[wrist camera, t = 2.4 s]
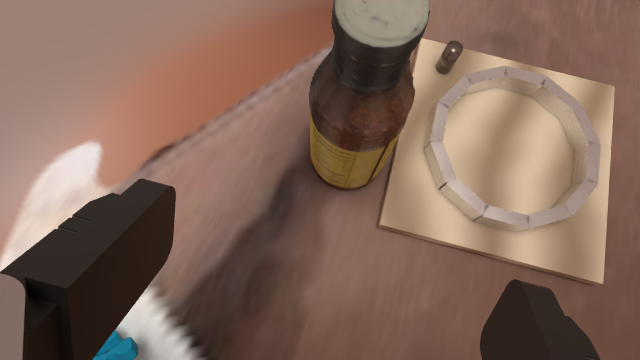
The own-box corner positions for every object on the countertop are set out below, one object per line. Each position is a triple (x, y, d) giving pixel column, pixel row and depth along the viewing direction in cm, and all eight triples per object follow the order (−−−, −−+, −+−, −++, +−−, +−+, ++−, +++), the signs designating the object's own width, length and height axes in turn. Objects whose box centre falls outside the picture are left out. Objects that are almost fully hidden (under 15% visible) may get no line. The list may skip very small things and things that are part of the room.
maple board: (605, 93, 39) (614, 86, 38) (592, 284, 34) (603, 283, 33) (417, 45, 40) (421, 37, 39) (376, 227, 35) (379, 224, 34)
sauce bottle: (357, 114, 38) (415, -84, 19) (395, 172, 36) (500, 22, 17) (293, 147, 36) (285, -28, 17) (329, 208, 35) (364, 90, 16)
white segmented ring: (589, 97, 38) (613, 80, 35) (577, 249, 34) (603, 243, 31) (436, 59, 38) (447, 39, 35) (406, 204, 34) (416, 194, 31)
